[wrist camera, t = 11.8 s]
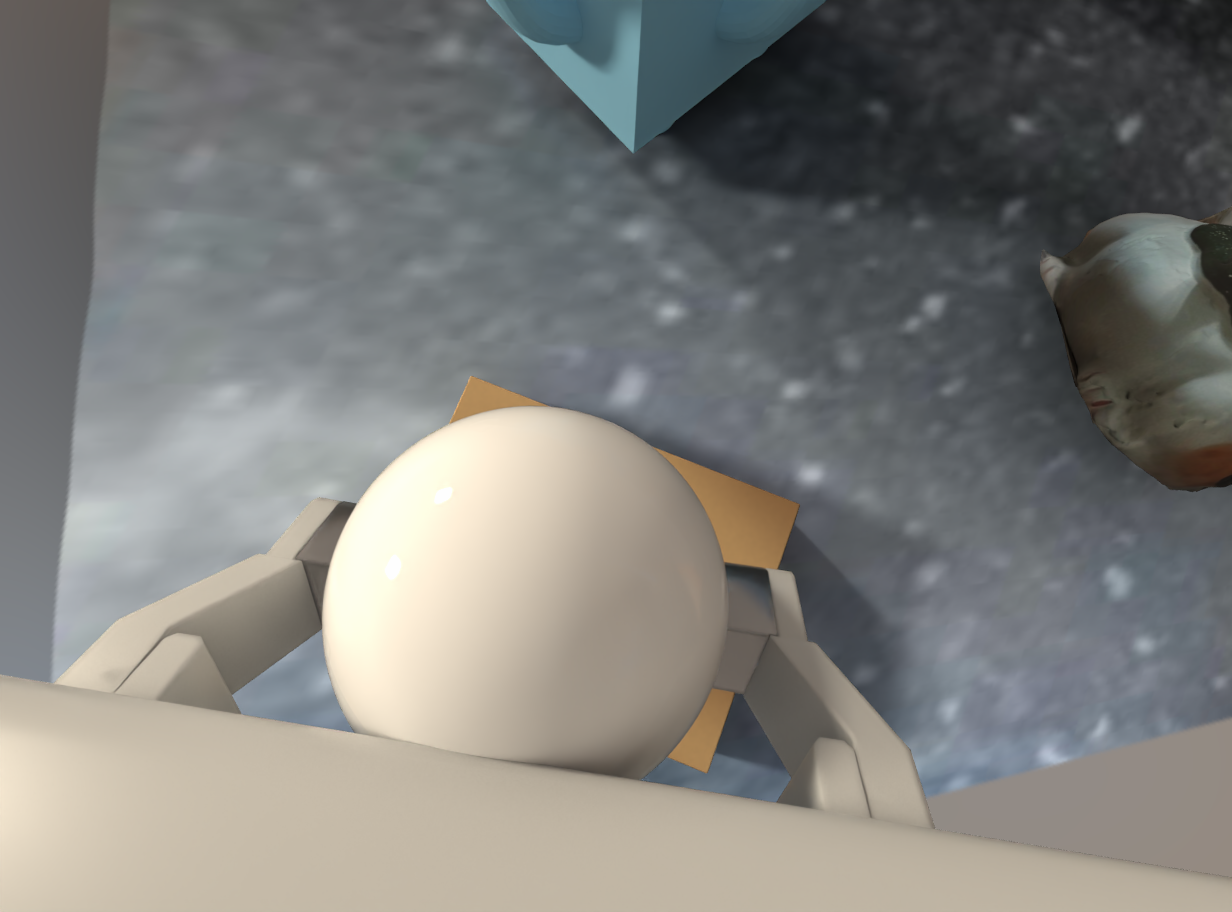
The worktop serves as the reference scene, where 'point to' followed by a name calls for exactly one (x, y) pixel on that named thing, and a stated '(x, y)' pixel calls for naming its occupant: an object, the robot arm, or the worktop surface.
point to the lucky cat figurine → (1153, 340)
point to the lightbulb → (528, 596)
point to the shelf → (743, 527)
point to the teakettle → (648, 51)
